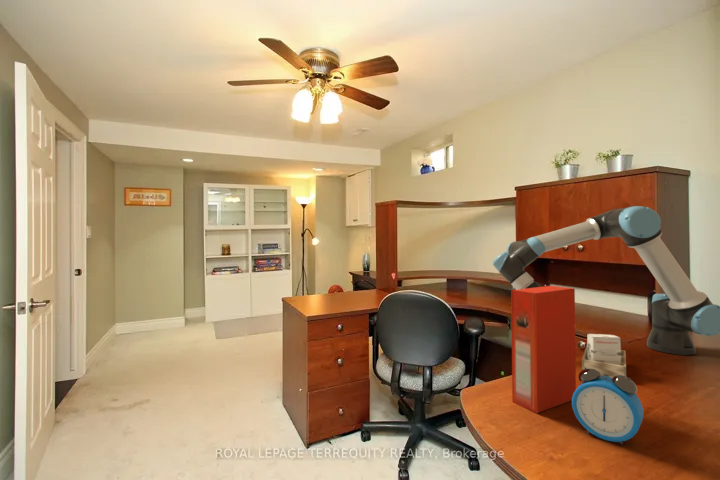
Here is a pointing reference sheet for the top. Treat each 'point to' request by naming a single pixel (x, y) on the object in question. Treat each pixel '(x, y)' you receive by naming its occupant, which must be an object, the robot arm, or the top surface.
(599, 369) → the desk organizer
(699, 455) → the top surface
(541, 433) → the top surface
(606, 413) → the alarm clock
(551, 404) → the file binder
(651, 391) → the top surface
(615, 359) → the ink box
